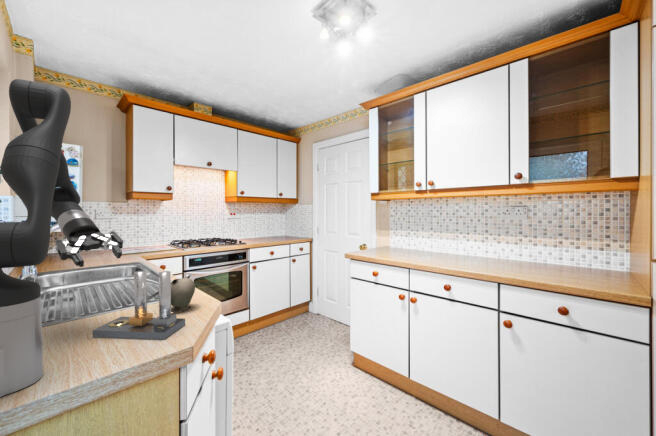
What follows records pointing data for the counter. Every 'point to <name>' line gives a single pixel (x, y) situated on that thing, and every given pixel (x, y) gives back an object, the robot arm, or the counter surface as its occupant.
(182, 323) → the pitch plate
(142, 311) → the sliding leg
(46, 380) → the counter surface
